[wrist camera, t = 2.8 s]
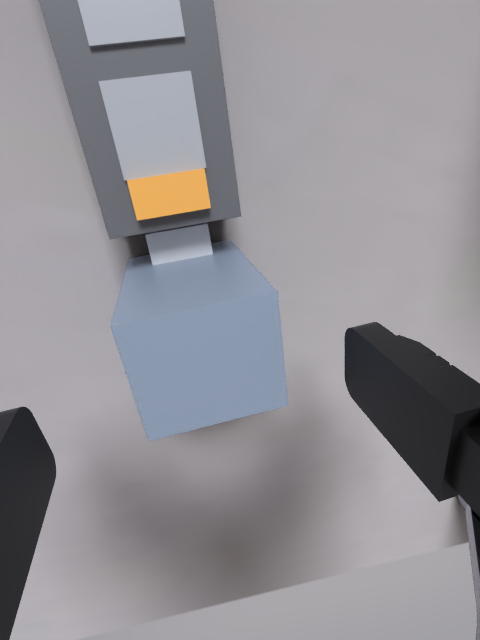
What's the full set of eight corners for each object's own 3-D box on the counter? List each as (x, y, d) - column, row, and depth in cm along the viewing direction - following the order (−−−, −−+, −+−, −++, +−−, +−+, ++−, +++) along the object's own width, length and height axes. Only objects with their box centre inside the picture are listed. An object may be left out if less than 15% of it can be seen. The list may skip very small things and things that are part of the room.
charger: (225, 212, 15) (273, 248, 9) (252, 396, 20) (297, 504, 14) (121, 230, 15) (96, 282, 9) (172, 415, 19) (181, 539, 13)
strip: (160, -225, 10) (162, -427, 7) (223, 204, 15) (244, 218, 12) (-6, -225, 10) (-100, -448, 6) (119, 222, 15) (108, 242, 11)
